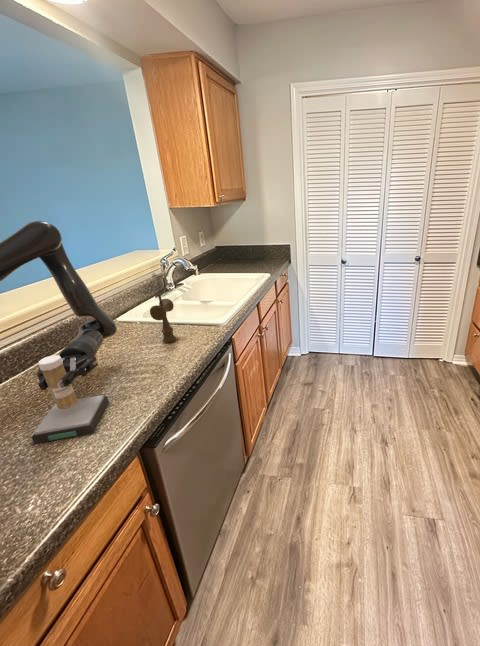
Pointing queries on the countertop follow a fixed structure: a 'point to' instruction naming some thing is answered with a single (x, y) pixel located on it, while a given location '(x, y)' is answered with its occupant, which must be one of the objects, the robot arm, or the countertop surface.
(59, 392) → the sprinkles bottle
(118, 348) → the countertop surface
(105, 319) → the robot arm
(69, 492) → the countertop surface
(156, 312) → the kendama
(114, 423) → the countertop surface
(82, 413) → the kitchen scale
